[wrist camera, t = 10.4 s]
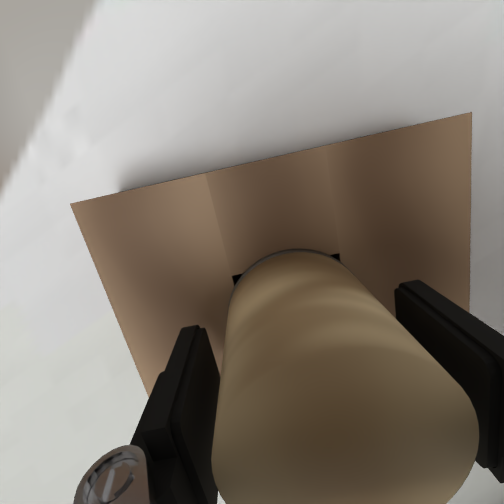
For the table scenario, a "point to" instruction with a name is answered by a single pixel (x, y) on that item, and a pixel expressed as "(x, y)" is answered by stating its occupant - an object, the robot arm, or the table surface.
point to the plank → (284, 230)
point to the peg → (332, 395)
